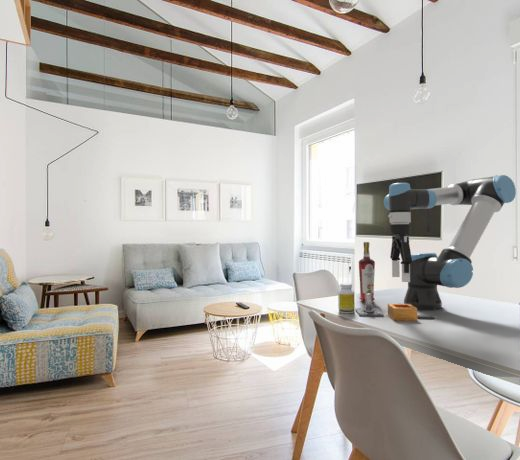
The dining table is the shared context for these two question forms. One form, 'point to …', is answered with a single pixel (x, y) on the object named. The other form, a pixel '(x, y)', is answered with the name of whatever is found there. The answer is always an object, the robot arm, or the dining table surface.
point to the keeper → (369, 308)
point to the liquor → (366, 274)
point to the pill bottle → (346, 298)
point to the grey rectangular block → (425, 317)
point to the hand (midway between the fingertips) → (400, 279)
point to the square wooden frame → (402, 312)
